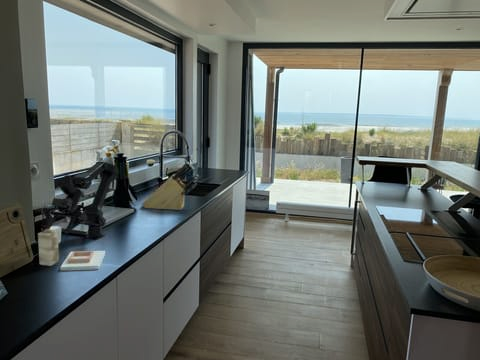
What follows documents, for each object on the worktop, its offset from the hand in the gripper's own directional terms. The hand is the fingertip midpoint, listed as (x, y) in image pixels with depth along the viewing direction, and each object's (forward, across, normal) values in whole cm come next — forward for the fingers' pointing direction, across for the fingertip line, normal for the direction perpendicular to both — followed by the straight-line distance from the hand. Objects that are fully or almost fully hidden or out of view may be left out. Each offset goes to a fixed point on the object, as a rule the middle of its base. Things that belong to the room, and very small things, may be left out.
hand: (55, 232), depth 151 cm
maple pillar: (+11, 0, +5) cm, 12 cm away
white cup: (-3, -14, +20) cm, 25 cm away
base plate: (+8, +12, +8) cm, 16 cm away
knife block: (-58, +14, +74) cm, 95 cm away
